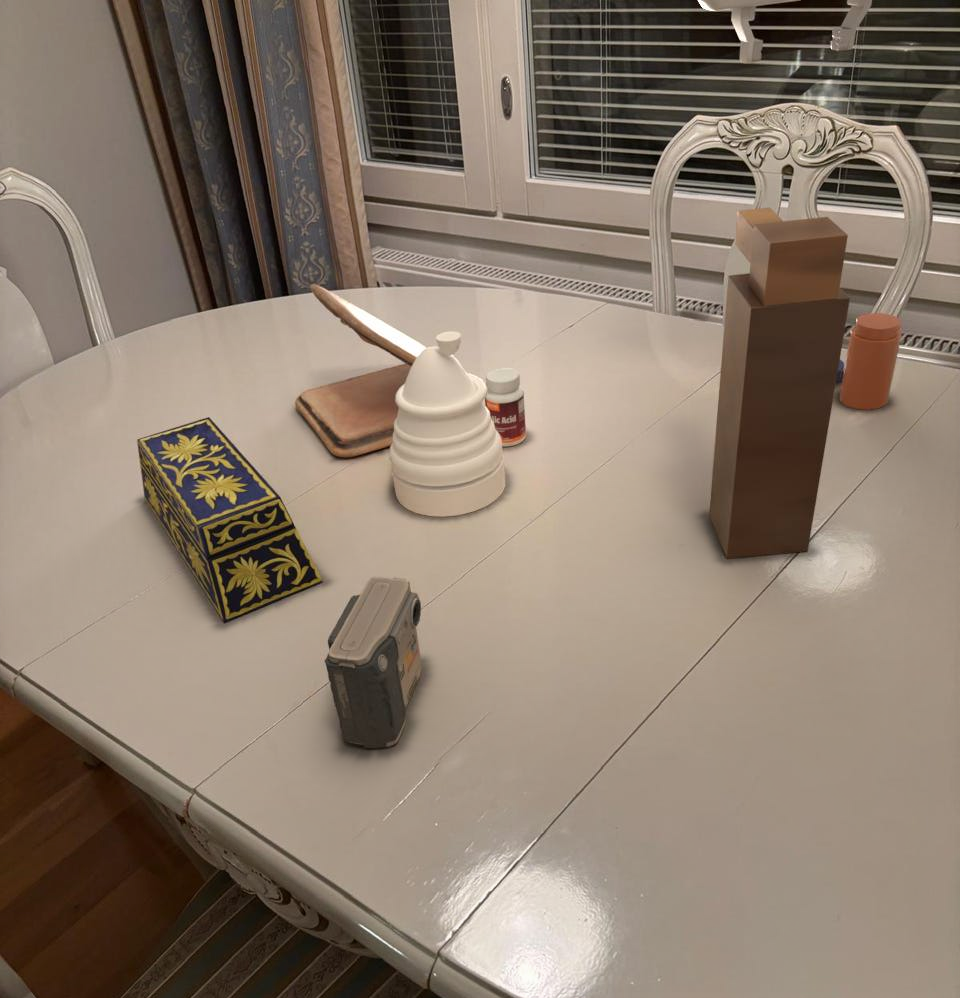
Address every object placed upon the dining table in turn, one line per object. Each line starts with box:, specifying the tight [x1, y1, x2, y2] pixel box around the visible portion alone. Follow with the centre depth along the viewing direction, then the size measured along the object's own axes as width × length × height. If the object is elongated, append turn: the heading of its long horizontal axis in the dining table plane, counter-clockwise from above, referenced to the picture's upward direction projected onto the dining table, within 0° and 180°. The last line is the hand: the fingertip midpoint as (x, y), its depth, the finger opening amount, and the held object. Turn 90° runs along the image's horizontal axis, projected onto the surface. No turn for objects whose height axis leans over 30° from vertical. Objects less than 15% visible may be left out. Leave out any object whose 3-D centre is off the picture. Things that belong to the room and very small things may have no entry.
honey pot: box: [389, 330, 507, 518], centre depth 100 cm, size 13×13×18 cm
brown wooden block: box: [734, 207, 849, 306], centre depth 79 cm, size 16×6×5 cm, turn 2°
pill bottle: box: [484, 367, 527, 447], centre depth 111 cm, size 5×5×8 cm
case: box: [294, 283, 427, 458], centre depth 118 cm, size 20×21×16 cm
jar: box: [838, 312, 903, 411], centre depth 110 cm, size 6×6×10 cm
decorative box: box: [136, 416, 324, 624], centre depth 99 cm, size 11×30×9 cm, turn 31°
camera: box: [324, 576, 423, 749], centre depth 76 cm, size 11×6×10 cm, turn 164°
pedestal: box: [708, 272, 851, 560], centre depth 85 cm, size 8×8×25 cm
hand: (795, 55), depth 89 cm, fingers open, 8 cm apart
